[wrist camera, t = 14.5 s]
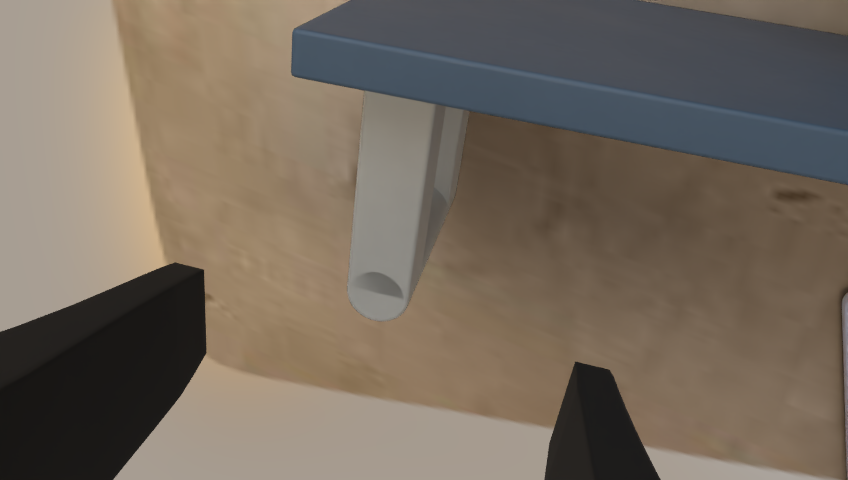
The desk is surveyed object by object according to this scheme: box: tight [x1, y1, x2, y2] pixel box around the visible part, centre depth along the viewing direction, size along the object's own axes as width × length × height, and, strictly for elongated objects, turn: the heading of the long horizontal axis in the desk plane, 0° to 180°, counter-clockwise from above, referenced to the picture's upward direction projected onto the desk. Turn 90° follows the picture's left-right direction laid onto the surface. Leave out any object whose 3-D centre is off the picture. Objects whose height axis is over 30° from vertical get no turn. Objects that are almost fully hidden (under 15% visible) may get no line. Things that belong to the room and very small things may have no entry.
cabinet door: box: [291, 0, 848, 321], centre depth 15 cm, size 6×14×9 cm, turn 83°
